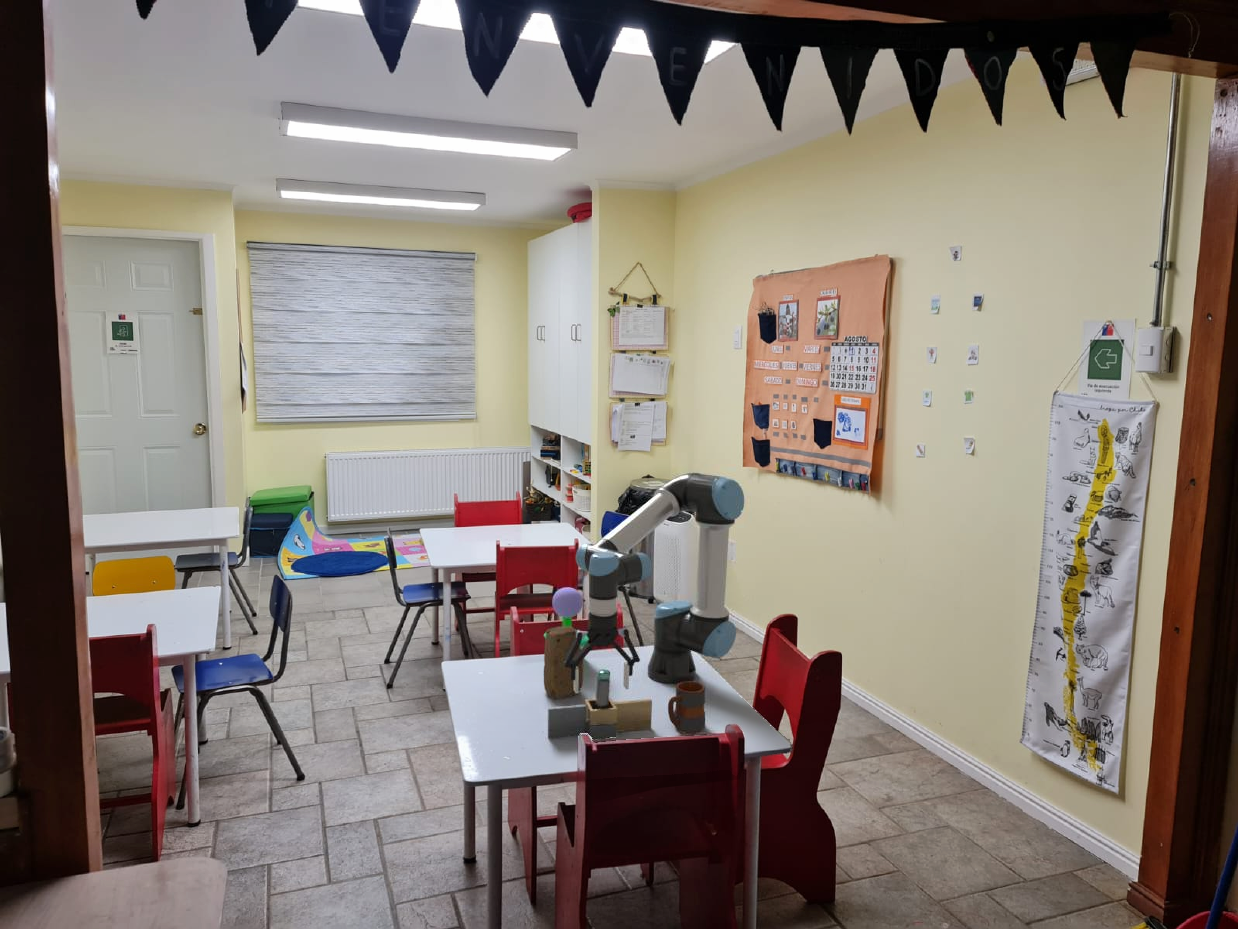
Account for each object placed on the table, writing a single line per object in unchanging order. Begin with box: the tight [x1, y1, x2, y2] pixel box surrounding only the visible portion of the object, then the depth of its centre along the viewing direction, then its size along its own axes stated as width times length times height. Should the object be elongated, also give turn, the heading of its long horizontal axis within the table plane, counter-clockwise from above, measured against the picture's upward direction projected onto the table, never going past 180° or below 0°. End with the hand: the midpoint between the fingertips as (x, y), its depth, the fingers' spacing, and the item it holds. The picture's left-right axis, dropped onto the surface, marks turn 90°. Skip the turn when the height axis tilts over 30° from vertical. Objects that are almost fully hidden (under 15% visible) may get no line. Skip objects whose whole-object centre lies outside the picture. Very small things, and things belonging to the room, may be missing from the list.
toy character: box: [543, 586, 589, 649], centre depth 276 cm, size 15×12×25 cm
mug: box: [667, 680, 706, 734], centre depth 232 cm, size 9×12×12 cm
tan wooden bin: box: [584, 697, 653, 732], centre depth 229 cm, size 18×7×8 cm, turn 104°
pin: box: [595, 668, 611, 709], centre depth 228 cm, size 3×3×17 cm
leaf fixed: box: [547, 704, 618, 741], centre depth 227 cm, size 18×7×8 cm, turn 104°
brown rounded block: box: [543, 625, 584, 699], centre depth 252 cm, size 11×8×20 cm
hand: (601, 689), depth 227 cm, fingers open, 13 cm apart
